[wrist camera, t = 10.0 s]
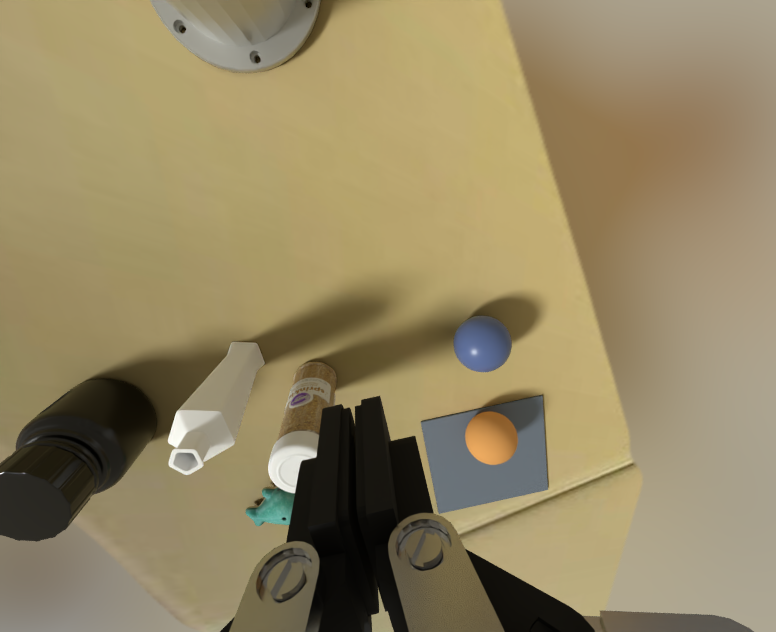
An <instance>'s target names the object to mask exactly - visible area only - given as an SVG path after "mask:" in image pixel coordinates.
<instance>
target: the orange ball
mask: <svg viewBox="0 0 776 632" xmlns="http://www.w3.org/2000/svg"><path fill="white" fill-rule="evenodd" d="M465 440H466V445H467V447H468V449H469V451H470V452H471V454H472V455H473V456H474V457H475V458H476V459H477V460H479V461H481V462H483V463H485V464H489V465H498V464H502V463H504V462H506V461H508V460H509V459H510V458H511V457H512V456H513V455H514V453H515V451H516V449H517V445H518V436H517V432H516V429H515V427H514V425H513V424H512V422H511V421H510V420H509V419H508V418H507V417H505V416H504V415H502V414H500V413H497V412H491V411H489V412H483V413H480V414H478V415H476V416H475V417H473V418H472V419H471V421H470V422H469V423H468V425H467V428H466V432H465Z"/></svg>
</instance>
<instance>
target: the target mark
mask: <svg viewBox="0 0 776 632" xmlns="http://www.w3.org/2000/svg"><path fill="white" fill-rule="evenodd" d="M489 411H491V412H497V413H500V414H502V415H504V416H505V417H507V418H508V419H509V420H510V421H511V422H512V424H513V425H514V427H515V429H516V432H517V436H518V445H517V449H516V451H515V453H514V455H513V456H512V457H511V458H510V459H509V460H508V461H506V462H504V463H502V464H498V465H489V464H485V463H483V462H481V461H479V460H477V459H476V458H475V457H474V456H473V455H472V454H471V452H470V451H469V449H468V447H467V445H466V440H465V432H466V428H467V425H468V423H469V422H470V421H471V419H472V418H473V417H475V416H476V415H478V414H480V413H483V412H489ZM421 425H422V430H423V435H424V441H425V446H426V451H427V456H428V461H429V466H430V471H431V476H432V481H433V486H434V491H435V496H436V501H437V507H438V512H439V514H440V513H445V512H449V511H454V510H458V509H463V508H467V507H472V506H476V505H481V504H485V503H490V502H494V501H499V500H503V499H508V498H512V497H517V496H522V495H526V494H531V493H535V492H540V491H544V490H548V483H547V466H546V448H545V431H544V413H543V396H542V395H540V396H535V397H531V398H526V399H521V400H517V401H512V402H508V403H503V404H499V405H494V406H489V407H485V408H480V409H476V410H471V411H466V412H462V413H457V414H453V415H448V416H443V417H439V418H434V419H430V420H425V421H421Z"/></svg>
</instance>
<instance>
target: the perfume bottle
mask: <svg viewBox="0 0 776 632" xmlns="http://www.w3.org/2000/svg"><path fill="white" fill-rule="evenodd" d="M264 364H265V362H264V359H263V357H262V354H261V351H260V349H259V346H258V344H257V343H250V342H232V343H231V344H230V347H229V351H228V354H227V356H226V357H225V358H224V359H223V360H222V361H221V362H220V364H219V365H218V366H217V367H216V368H215V369H214V370H213V371H212V373H211V374H210V375H209V376H208V377H207V378H206V379H205V380H204V382H203V383H202V384H201V385H200V386H199V387H198V388H197V389H196V391H195V392H194V393H193V394H192V395H191V396H190V397H189V398H188V399H187V401H186V402H185V403H184V404H183V405H182V406H181V407H180V408H179V410H178V411H177V412H176V415H175V418H174V422H173V425H172V428H171V432H170V435H169V438H168V442H169V444H171V445H173V446H174V447H176V449H174V450H173V451H172V453H171V456H170V460H169V466H170V467H171V468H173V469H175V470H177V471H179V472H181V473H183V474H185V475H189V474H191V473H193V472H195V471H196V470H198V469H200V468H202V467H203V465H204V464H203V461H207V460H208V459H210V458H212V457H214V456H215V455H217V454H219V453H221V452H222V451H224V450H226V449H228V448H229V447H231V446H233V445H234V443H235V440H236V437H237V434H238V431H239V427H240V424H241V421H242V418H243V414H244V411H245V408H246V405H247V402H248V398H249V395H250V392H251V389H252V386H253V382H254V379H255V376H256V373H257V370H259V369H260V368H261V367H262V366H263V365H264Z"/></svg>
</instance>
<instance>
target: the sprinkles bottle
mask: <svg viewBox="0 0 776 632" xmlns="http://www.w3.org/2000/svg"><path fill="white" fill-rule="evenodd" d="M336 384H337V378H336V374H335V372H334V370H333V369H332V368H331V367H330V366H328V365H326V364H325V363H322V362H308V363H305V364H303V365H302V366H300V367H299V368H298V370H297V371H296V372H295V374H294V378H293V385H292V388H291V390H290V393H289V397H288V401H287V404H286V407H285V412H284V417H283V421H282V425H281V429H280V433H279V437H278V440H277V442H276V443H275V445H274V447H273V449H272V453H271V456H270V460H269V464H268V472H269V476H270V478H271V480H272V481H273V483H274V484H275V485H276V486H278V487H279V488H280V489H282V490H284V491H287V492H290V493H295V490H296V485H297V479H298V473H299V468H300V464H301V462H302V460H307V459H311V458H316V456H317V448H318V440H319V432H320V424H321V415H322V409H323V408H326V407H331V406H335V388H336Z"/></svg>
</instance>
